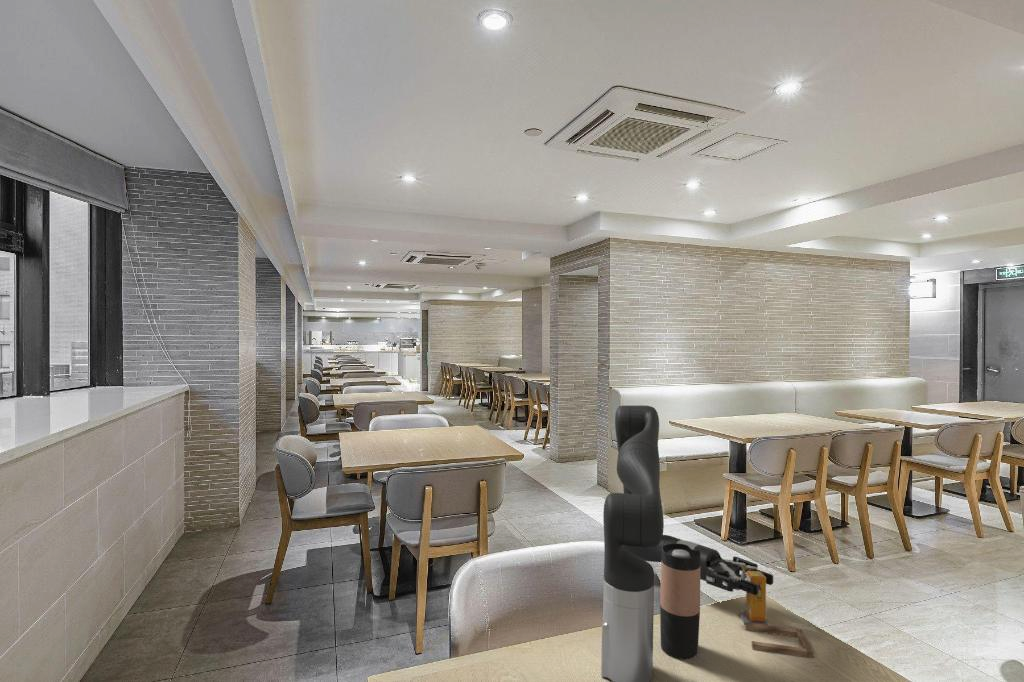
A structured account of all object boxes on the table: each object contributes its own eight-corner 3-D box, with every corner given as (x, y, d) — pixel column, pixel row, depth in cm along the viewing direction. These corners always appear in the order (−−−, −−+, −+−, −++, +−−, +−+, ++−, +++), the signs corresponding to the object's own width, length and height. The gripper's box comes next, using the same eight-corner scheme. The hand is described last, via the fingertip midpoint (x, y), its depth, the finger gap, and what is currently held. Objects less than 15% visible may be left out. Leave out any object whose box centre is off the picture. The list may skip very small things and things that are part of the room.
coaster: (744, 625, 117) (744, 622, 117) (740, 613, 122) (740, 610, 122) (768, 628, 116) (769, 625, 116) (763, 616, 121) (763, 613, 121)
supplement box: (760, 614, 120) (761, 570, 120) (766, 623, 117) (767, 577, 117) (744, 613, 121) (746, 569, 120) (750, 621, 117) (751, 576, 117)
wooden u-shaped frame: (752, 649, 108) (752, 644, 108) (744, 626, 116) (744, 622, 116) (813, 657, 105) (814, 652, 105) (801, 634, 114) (801, 629, 114)
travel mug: (659, 657, 105) (661, 556, 105) (658, 635, 112) (660, 541, 112) (701, 663, 103) (703, 560, 103) (697, 641, 111) (699, 545, 110)
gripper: (680, 552, 125) (751, 577, 112) (711, 537, 134) (779, 559, 122) (679, 584, 125) (750, 613, 112) (710, 567, 134) (779, 592, 122)
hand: (765, 585), depth 117 cm, fingers open, 6 cm apart
